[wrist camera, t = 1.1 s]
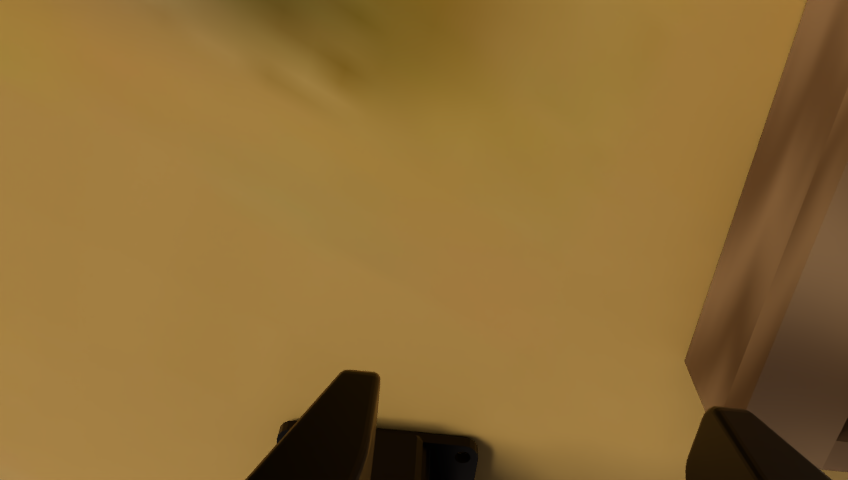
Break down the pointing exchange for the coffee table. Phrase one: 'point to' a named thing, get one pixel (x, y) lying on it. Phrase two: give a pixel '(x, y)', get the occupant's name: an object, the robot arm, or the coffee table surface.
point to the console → (789, 260)
